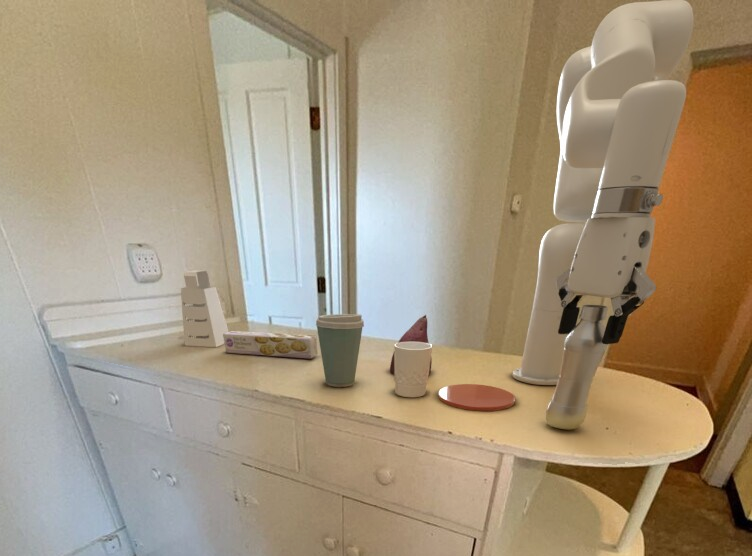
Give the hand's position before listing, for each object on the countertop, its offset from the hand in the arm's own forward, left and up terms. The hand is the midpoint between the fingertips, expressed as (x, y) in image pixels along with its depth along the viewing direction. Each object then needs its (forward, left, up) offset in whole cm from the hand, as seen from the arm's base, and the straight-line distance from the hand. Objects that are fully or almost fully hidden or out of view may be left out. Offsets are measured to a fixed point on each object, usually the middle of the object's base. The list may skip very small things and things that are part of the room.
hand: (586, 337), depth 69 cm
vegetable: (+6, -44, -16) cm, 47 cm away
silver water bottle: (0, 0, -16) cm, 16 cm away
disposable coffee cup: (+26, -42, -16) cm, 52 cm away
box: (+33, -77, -16) cm, 85 cm away
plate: (+4, -20, -15) cm, 25 cm away
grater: (+47, -101, -16) cm, 112 cm away
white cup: (+15, -29, -16) cm, 36 cm away
